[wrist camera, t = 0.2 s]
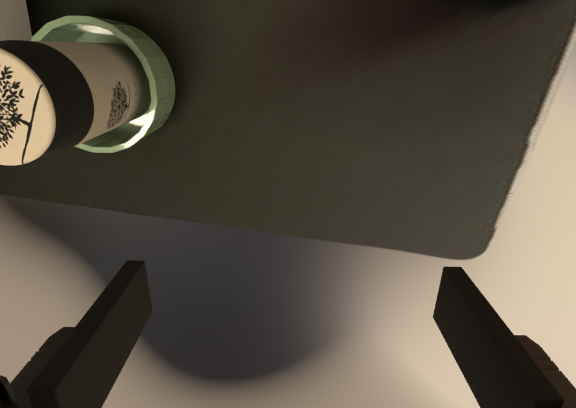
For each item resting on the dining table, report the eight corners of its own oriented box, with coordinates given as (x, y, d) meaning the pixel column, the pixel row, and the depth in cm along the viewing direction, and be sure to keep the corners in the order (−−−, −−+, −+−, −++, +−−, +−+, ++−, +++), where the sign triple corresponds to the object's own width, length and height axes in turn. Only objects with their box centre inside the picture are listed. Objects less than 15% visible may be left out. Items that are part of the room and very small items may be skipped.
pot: (49, 19, 37) (7, 14, 32) (169, 22, 37) (147, 17, 32) (74, 138, 42) (41, 151, 37) (180, 140, 42) (163, 154, 37)
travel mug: (68, 92, 40) (-91, 123, 23) (98, 26, 37) (-57, 8, 21) (134, 135, 42) (30, 191, 25) (167, 74, 39) (76, 93, 22)
